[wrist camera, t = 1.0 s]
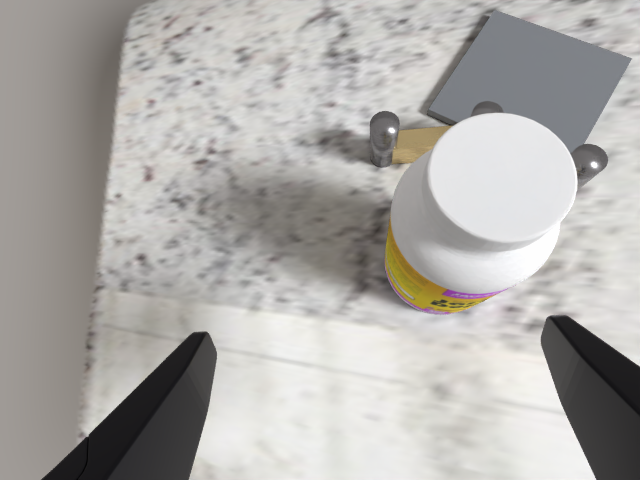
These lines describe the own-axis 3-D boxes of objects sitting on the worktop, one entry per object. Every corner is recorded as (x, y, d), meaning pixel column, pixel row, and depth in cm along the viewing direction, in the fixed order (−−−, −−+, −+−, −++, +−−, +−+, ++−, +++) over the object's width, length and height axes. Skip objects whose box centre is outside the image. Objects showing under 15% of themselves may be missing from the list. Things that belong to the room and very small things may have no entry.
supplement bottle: (410, 332, 23) (451, 308, 11) (368, 239, 26) (362, 133, 13) (511, 291, 23) (661, 221, 11) (459, 200, 25) (538, 59, 13)
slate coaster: (626, 64, 27) (632, 58, 26) (563, 176, 25) (567, 172, 24) (492, 16, 29) (494, 9, 29) (427, 114, 28) (428, 109, 27)
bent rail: (576, 183, 25) (613, 152, 21) (539, 250, 24) (571, 230, 20) (403, 104, 28) (408, 65, 24) (365, 160, 27) (364, 128, 23)
